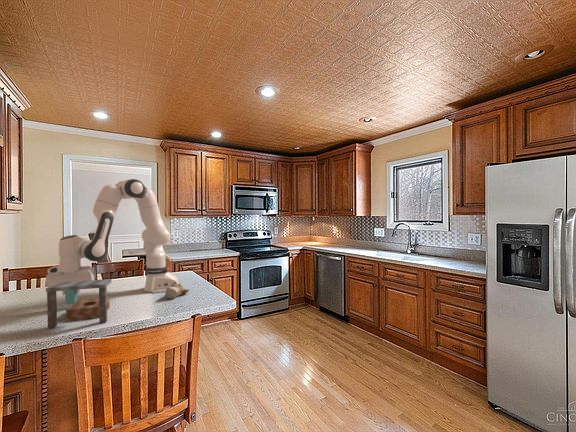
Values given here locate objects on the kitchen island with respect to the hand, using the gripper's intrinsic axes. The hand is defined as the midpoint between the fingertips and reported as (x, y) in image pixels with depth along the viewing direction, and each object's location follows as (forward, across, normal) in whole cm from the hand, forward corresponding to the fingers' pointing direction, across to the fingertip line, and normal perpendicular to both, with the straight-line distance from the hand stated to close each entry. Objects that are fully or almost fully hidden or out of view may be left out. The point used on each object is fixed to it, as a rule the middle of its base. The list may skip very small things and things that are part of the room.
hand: (71, 293), depth 150 cm
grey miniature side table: (+7, -11, +18) cm, 22 cm away
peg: (+5, 0, 0) cm, 5 cm away
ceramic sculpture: (+8, -50, -4) cm, 51 cm away
